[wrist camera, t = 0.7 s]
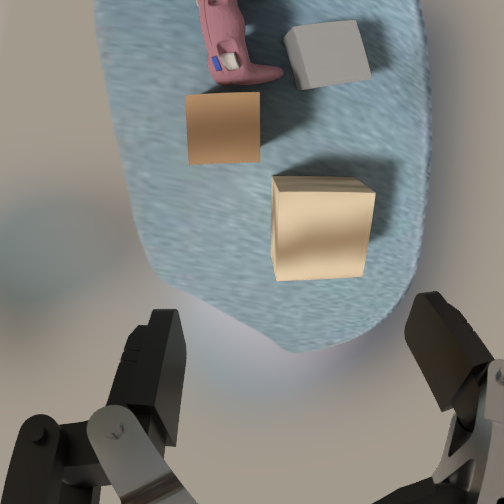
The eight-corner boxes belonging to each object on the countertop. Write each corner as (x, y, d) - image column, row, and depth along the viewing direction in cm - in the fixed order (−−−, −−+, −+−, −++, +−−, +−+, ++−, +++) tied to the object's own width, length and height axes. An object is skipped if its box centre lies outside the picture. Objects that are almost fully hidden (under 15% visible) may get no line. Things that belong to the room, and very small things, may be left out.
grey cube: (282, 39, 22) (292, 26, 17) (335, 31, 21) (355, 19, 17) (297, 90, 24) (310, 88, 19) (349, 81, 23) (372, 79, 19)
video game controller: (222, -5, 20) (177, -20, 15) (269, -18, 18) (232, -42, 13) (241, 88, 25) (198, 93, 20) (289, 80, 23) (257, 81, 18)
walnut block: (196, 96, 24) (185, 95, 18) (254, 94, 24) (259, 92, 19) (198, 151, 26) (189, 164, 21) (255, 149, 26) (260, 162, 21)
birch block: (271, 175, 27) (279, 191, 23) (354, 177, 28) (375, 193, 23) (270, 253, 31) (276, 281, 27) (345, 251, 31) (362, 276, 27)
